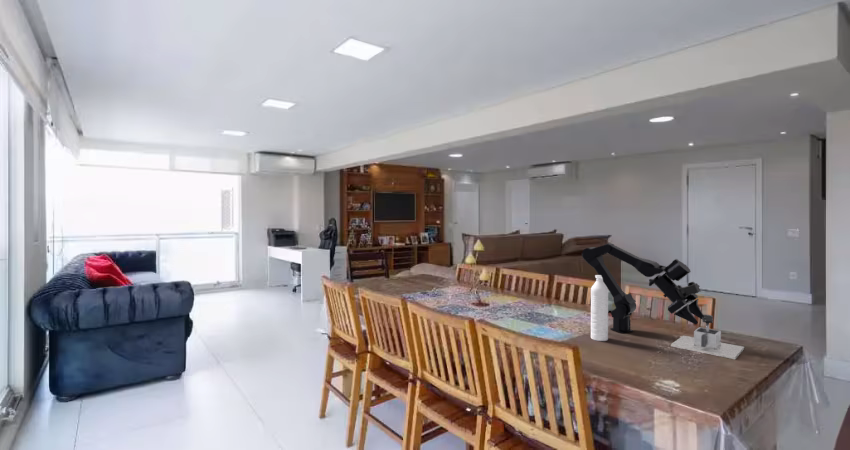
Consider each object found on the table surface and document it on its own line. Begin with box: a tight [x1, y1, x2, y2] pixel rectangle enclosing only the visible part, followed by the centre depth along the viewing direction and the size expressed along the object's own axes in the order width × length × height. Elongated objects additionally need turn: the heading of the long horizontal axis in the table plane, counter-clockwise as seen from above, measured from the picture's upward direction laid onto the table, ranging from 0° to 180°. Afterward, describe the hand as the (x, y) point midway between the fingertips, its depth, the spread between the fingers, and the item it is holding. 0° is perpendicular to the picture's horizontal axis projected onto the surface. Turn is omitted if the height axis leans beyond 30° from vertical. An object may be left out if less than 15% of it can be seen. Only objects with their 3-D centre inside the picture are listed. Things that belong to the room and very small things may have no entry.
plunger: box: [701, 313, 714, 333], centre depth 160 cm, size 5×5×11 cm
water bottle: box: [590, 274, 609, 342], centre depth 173 cm, size 9×6×25 cm
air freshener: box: [608, 290, 616, 312], centre depth 218 cm, size 11×8×10 cm
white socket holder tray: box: [670, 326, 745, 360], centre depth 160 cm, size 20×15×6 cm
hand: (700, 321), depth 161 cm, fingers open, 9 cm apart
